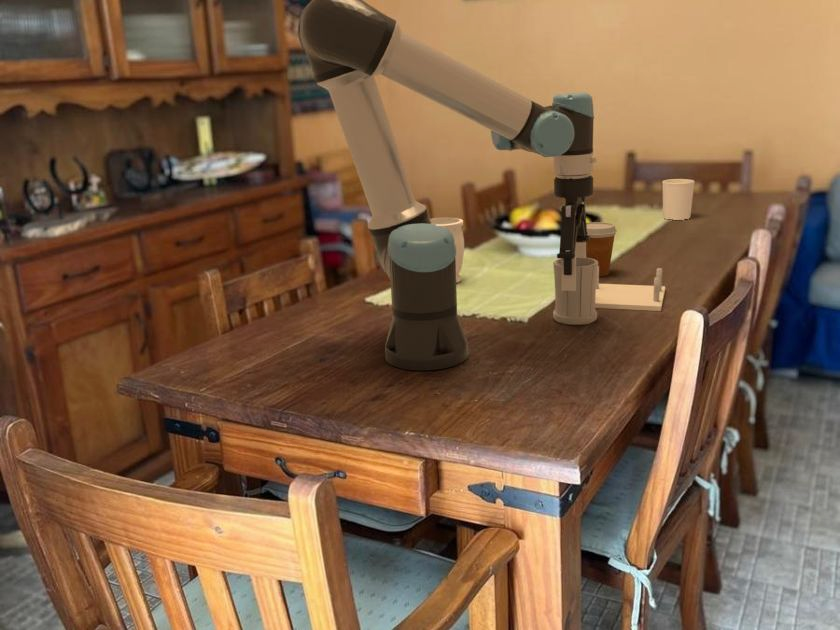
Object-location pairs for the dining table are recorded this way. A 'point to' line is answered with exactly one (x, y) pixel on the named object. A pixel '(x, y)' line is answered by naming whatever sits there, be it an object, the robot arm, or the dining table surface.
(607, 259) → the disposable coffee cup
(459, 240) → the jar
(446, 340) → the robot arm
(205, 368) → the dining table surface
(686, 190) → the candle holder
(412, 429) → the dining table surface
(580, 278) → the cup
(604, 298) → the beige flat pegged board
